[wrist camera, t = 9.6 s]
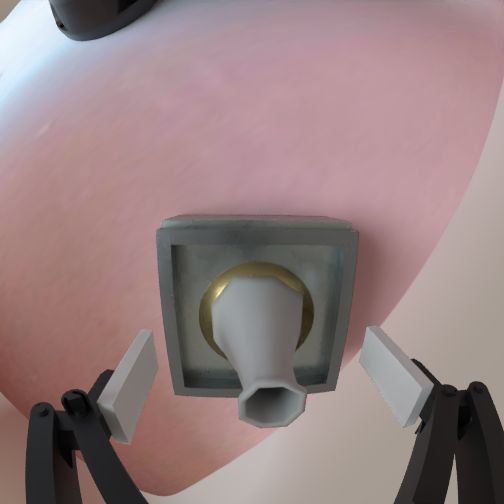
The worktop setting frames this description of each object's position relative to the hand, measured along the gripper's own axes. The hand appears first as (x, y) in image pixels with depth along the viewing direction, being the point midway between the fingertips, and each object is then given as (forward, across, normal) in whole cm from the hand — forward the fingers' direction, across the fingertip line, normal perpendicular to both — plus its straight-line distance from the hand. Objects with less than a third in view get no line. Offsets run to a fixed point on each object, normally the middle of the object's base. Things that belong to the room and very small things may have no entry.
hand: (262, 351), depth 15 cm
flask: (+5, 0, 0) cm, 6 cm away
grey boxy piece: (+11, 0, -1) cm, 12 cm away
